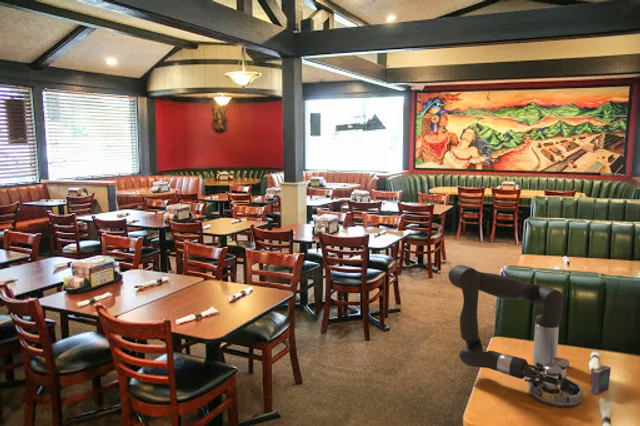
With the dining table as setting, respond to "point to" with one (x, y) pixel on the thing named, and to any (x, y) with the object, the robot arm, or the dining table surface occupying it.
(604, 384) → the flask
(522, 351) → the dining table surface
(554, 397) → the carrier
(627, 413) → the dining table surface
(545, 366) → the silver capped cylinder
